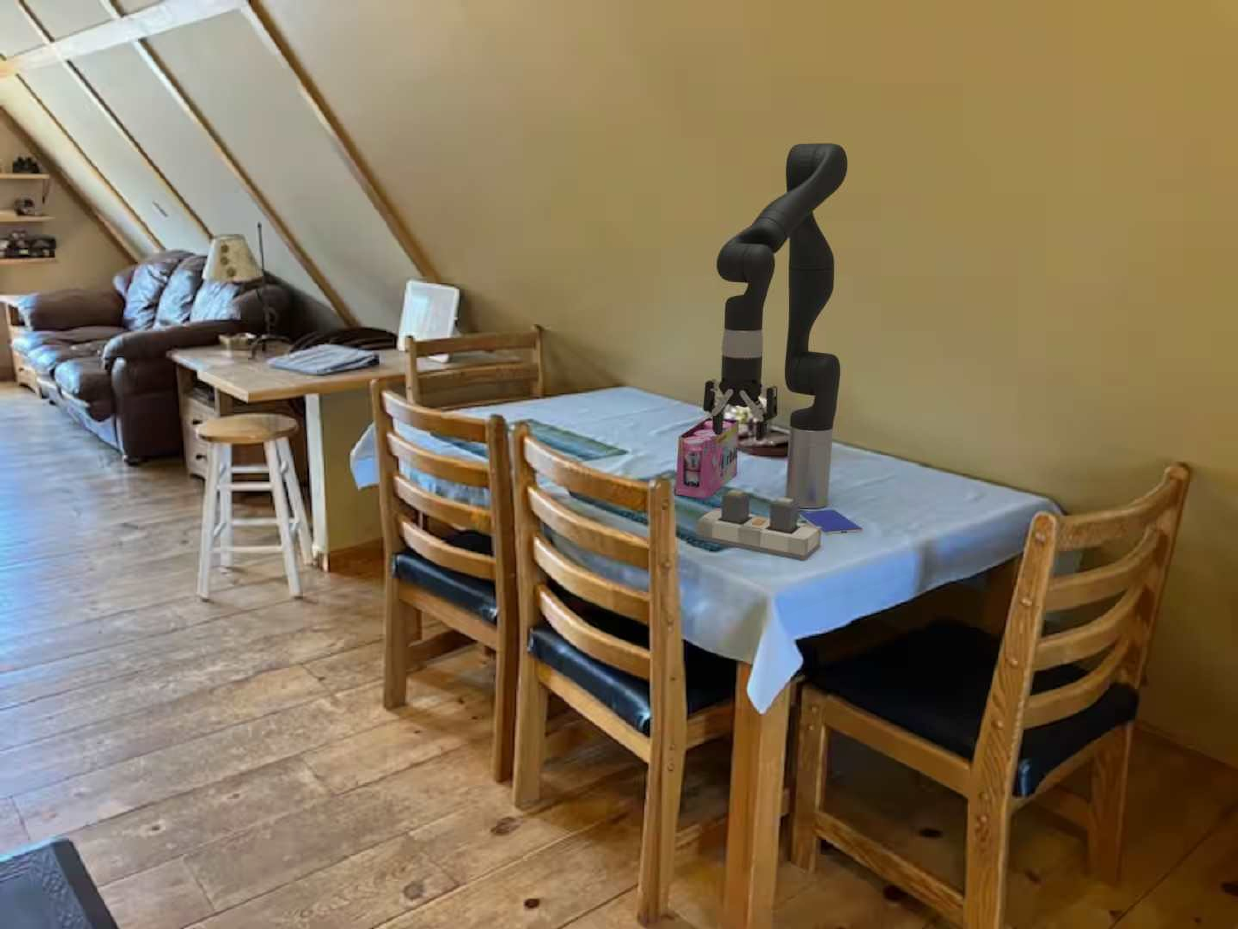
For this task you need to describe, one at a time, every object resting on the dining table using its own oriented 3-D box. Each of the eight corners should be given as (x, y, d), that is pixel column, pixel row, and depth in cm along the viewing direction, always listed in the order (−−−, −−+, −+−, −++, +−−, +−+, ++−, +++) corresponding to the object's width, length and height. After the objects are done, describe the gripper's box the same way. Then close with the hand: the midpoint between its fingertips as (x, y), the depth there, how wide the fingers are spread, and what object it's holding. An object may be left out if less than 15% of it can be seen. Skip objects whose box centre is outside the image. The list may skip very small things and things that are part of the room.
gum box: (706, 501, 219) (708, 441, 215) (672, 496, 222) (674, 437, 218) (737, 474, 240) (740, 419, 236) (706, 470, 243) (708, 416, 239)
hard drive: (799, 511, 209) (825, 530, 197) (835, 509, 211) (863, 527, 199) (799, 518, 209) (825, 538, 198) (834, 516, 211) (862, 535, 200)
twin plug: (776, 537, 193) (778, 495, 190) (796, 541, 191) (798, 498, 188) (768, 543, 189) (771, 500, 187) (788, 547, 187) (791, 504, 185)
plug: (729, 528, 197) (731, 487, 195) (747, 532, 195) (749, 490, 193) (720, 534, 194) (722, 492, 192) (739, 538, 192) (741, 495, 190)
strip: (696, 539, 194) (697, 518, 193) (715, 526, 202) (716, 506, 201) (803, 560, 184) (805, 538, 182) (820, 546, 191) (821, 525, 190)
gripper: (785, 353, 185) (781, 437, 189) (715, 346, 192) (713, 428, 196) (770, 359, 179) (766, 446, 183) (698, 352, 186) (696, 436, 190)
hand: (738, 437), depth 190 cm, fingers open, 8 cm apart
